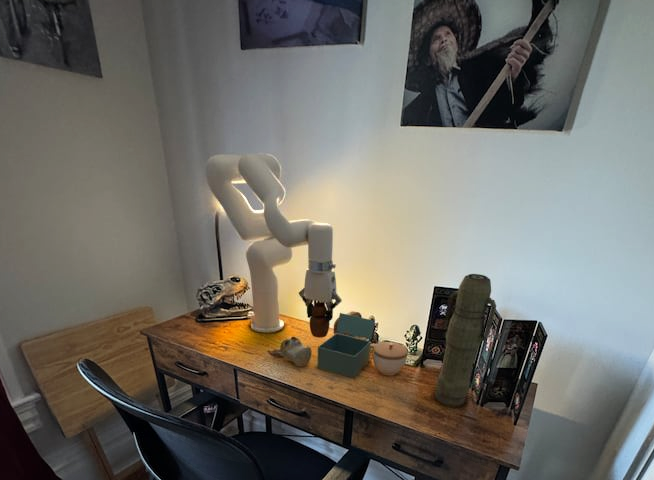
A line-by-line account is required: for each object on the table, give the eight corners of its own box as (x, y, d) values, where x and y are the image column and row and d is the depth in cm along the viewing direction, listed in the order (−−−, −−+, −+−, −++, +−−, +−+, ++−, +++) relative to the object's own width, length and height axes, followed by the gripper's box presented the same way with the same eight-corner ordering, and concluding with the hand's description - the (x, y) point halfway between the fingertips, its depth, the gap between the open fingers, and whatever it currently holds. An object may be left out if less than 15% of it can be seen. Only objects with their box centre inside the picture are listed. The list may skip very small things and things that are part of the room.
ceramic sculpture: (294, 347, 112) (263, 334, 121) (296, 373, 116) (266, 359, 125) (320, 338, 119) (289, 326, 128) (321, 363, 123) (290, 350, 132)
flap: (339, 312, 125) (340, 312, 125) (336, 331, 126) (336, 331, 126) (375, 320, 120) (375, 320, 121) (370, 339, 122) (371, 339, 122)
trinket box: (386, 359, 128) (389, 334, 123) (411, 371, 121) (415, 345, 116) (364, 369, 121) (366, 342, 116) (390, 383, 115) (393, 355, 110)
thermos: (435, 384, 115) (459, 268, 97) (474, 397, 110) (506, 277, 92) (424, 397, 108) (447, 275, 90) (464, 412, 103) (498, 285, 85)
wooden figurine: (308, 338, 131) (307, 296, 123) (311, 331, 136) (311, 290, 128) (327, 340, 130) (328, 297, 122) (330, 333, 135) (331, 292, 127)
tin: (338, 342, 137) (339, 321, 133) (331, 340, 139) (332, 318, 134) (362, 330, 148) (363, 310, 143) (355, 328, 149) (356, 308, 145)
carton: (317, 367, 121) (317, 347, 117) (335, 352, 130) (336, 333, 127) (353, 377, 116) (355, 356, 112) (369, 361, 126) (371, 341, 122)
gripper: (349, 267, 120) (347, 320, 129) (302, 259, 126) (303, 310, 135) (339, 272, 114) (337, 327, 124) (290, 263, 120) (292, 317, 130)
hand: (319, 318), depth 129 cm, fingers closed on wooden figurine, 6 cm apart
